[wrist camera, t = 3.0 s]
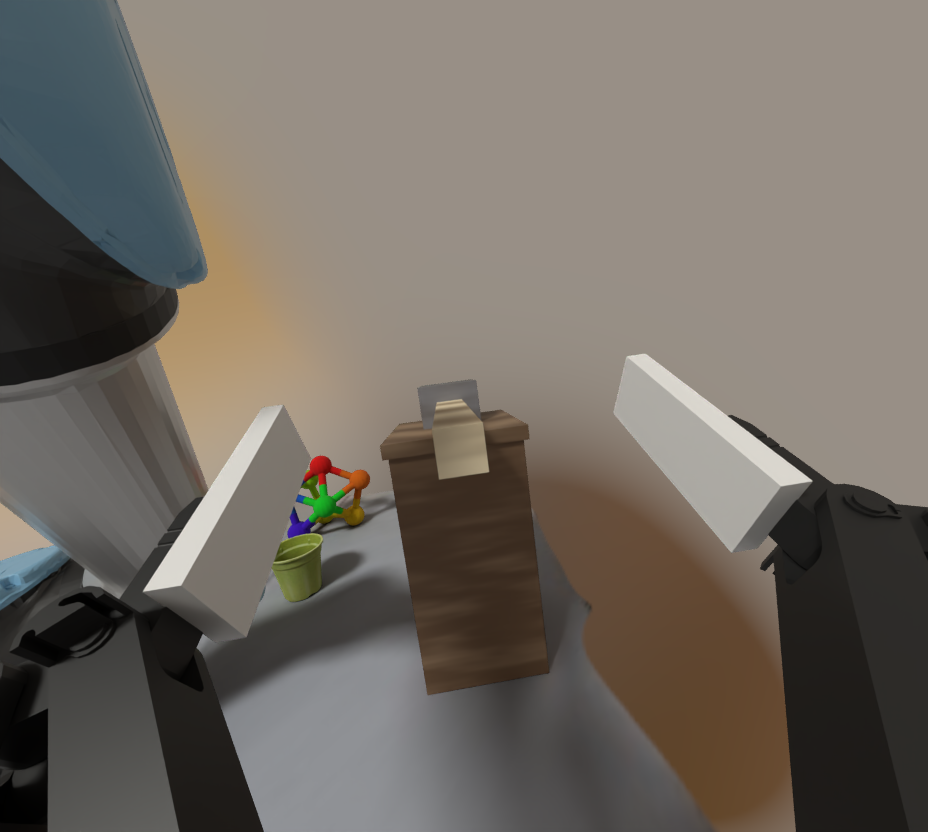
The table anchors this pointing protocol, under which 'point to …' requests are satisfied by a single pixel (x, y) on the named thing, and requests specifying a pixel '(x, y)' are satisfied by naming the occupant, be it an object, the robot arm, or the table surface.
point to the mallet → (455, 427)
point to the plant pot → (299, 566)
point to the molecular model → (328, 497)
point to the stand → (470, 558)
